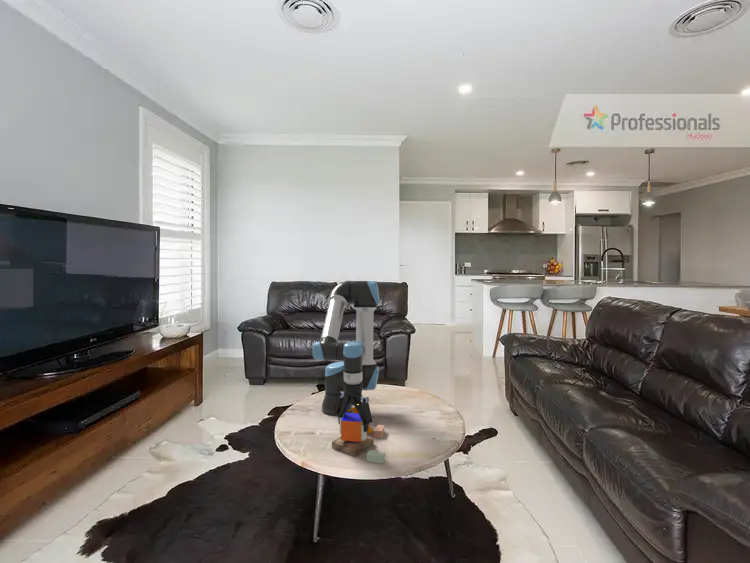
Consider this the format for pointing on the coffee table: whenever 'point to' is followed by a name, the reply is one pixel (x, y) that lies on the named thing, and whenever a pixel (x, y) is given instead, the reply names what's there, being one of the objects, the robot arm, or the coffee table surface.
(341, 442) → the walnut slab
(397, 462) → the coffee table surface
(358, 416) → the cube
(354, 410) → the figurine
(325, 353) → the robot arm
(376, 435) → the terracotta brick
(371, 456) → the sage brick
